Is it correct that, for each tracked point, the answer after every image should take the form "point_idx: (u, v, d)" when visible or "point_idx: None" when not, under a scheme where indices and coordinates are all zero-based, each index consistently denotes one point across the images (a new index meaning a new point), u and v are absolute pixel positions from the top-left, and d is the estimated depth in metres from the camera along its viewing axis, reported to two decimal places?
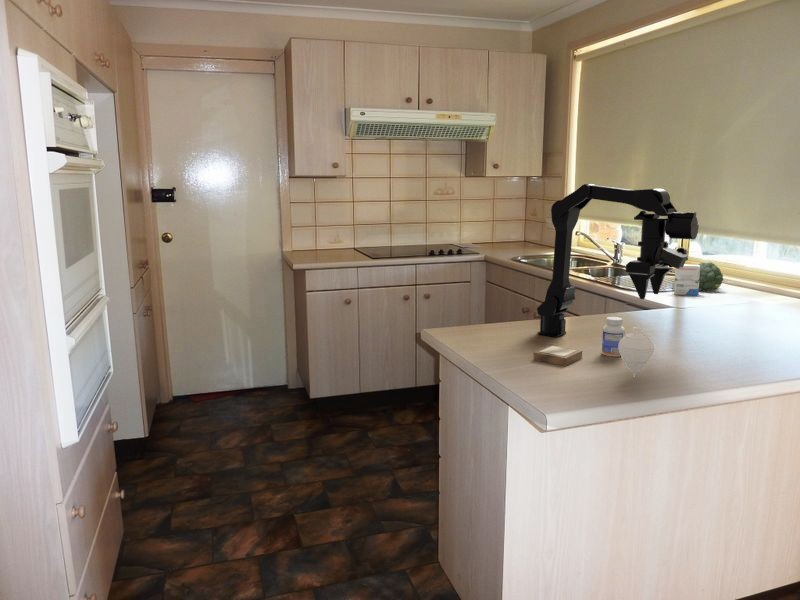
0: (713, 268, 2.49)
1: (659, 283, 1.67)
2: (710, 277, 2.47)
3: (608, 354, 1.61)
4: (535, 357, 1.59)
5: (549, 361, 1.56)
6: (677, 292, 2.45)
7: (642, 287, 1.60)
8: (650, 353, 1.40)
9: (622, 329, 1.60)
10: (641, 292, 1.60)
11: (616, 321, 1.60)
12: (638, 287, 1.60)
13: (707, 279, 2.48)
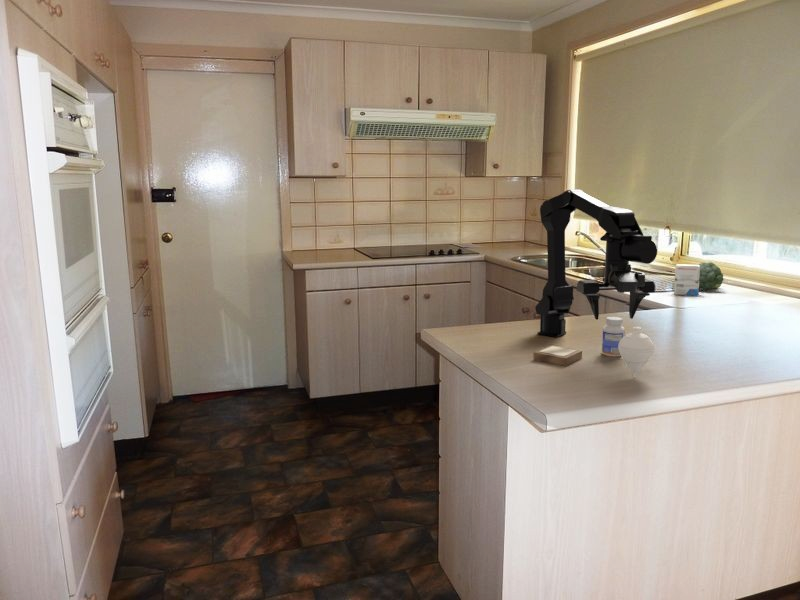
0: (713, 268, 2.49)
1: (633, 307, 1.61)
2: (710, 277, 2.47)
3: (608, 354, 1.61)
4: (535, 357, 1.59)
5: (549, 361, 1.56)
6: (677, 292, 2.45)
7: (593, 307, 1.61)
8: (650, 353, 1.40)
9: (622, 329, 1.60)
10: (594, 312, 1.61)
11: (616, 321, 1.60)
12: (592, 307, 1.62)
13: (707, 279, 2.48)
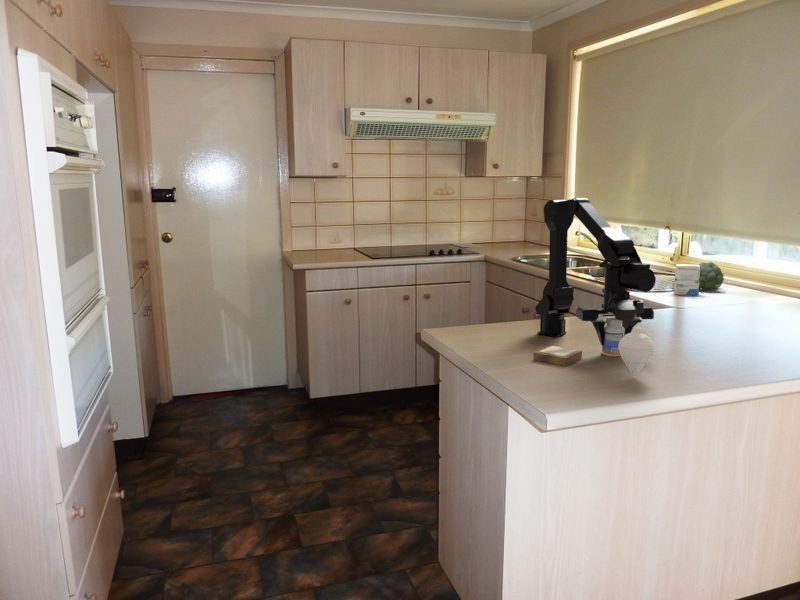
0: (714, 268, 2.49)
1: (625, 334, 1.62)
2: (711, 277, 2.47)
3: (608, 354, 1.61)
4: (535, 357, 1.59)
5: (549, 361, 1.56)
6: (677, 292, 2.45)
7: (599, 333, 1.62)
8: (650, 353, 1.40)
9: (622, 329, 1.60)
10: (599, 338, 1.62)
11: (616, 321, 1.60)
12: (597, 333, 1.63)
13: (708, 279, 2.48)
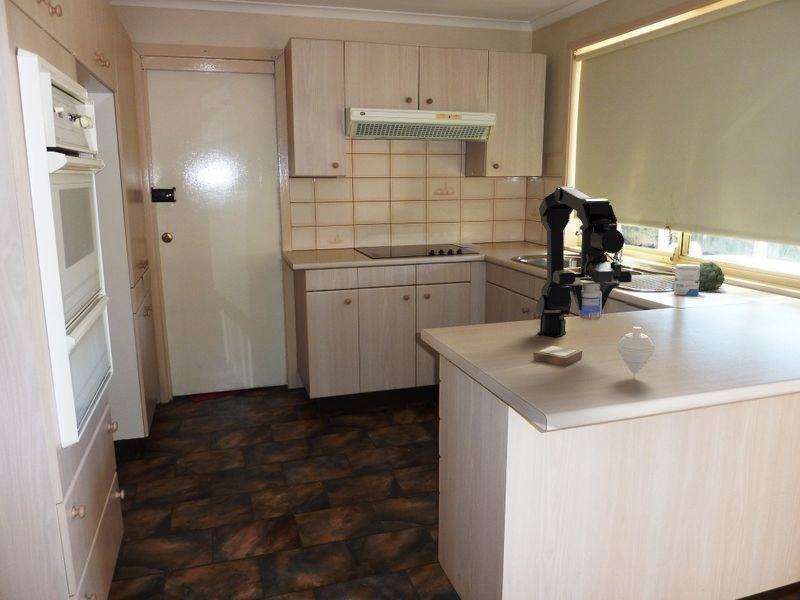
0: (714, 268, 2.49)
1: (603, 298, 1.58)
2: (711, 277, 2.47)
3: (586, 319, 1.58)
4: (535, 357, 1.59)
5: (549, 361, 1.56)
6: (677, 292, 2.45)
7: (576, 298, 1.58)
8: (650, 353, 1.40)
9: (599, 293, 1.57)
10: (577, 303, 1.59)
11: (593, 285, 1.56)
12: (574, 297, 1.59)
13: (708, 279, 2.48)
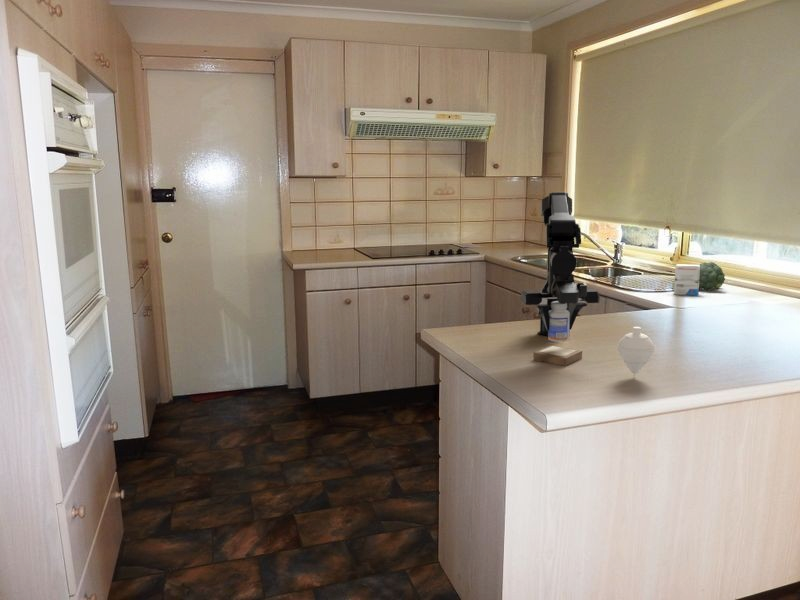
0: (715, 268, 2.49)
1: (571, 318, 1.57)
2: (712, 277, 2.48)
3: (553, 339, 1.57)
4: (535, 357, 1.59)
5: (549, 361, 1.56)
6: (677, 292, 2.45)
7: (543, 317, 1.57)
8: (650, 353, 1.40)
9: (567, 313, 1.56)
10: (544, 323, 1.58)
11: (560, 305, 1.55)
12: (542, 317, 1.58)
13: (709, 279, 2.48)
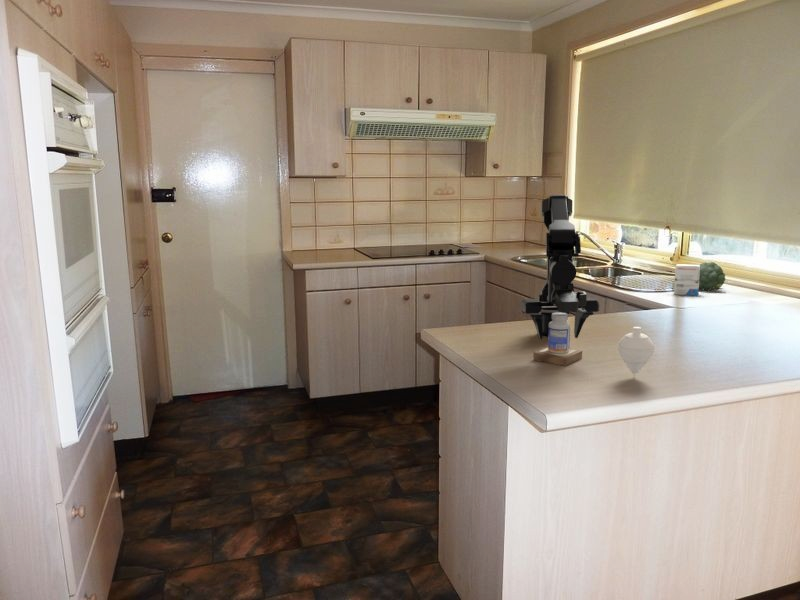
0: (715, 268, 2.49)
1: (577, 327, 1.58)
2: (712, 277, 2.48)
3: (553, 351, 1.57)
4: (535, 357, 1.59)
5: (549, 361, 1.56)
6: (677, 292, 2.45)
7: (536, 326, 1.58)
8: (650, 353, 1.40)
9: (567, 325, 1.56)
10: (538, 331, 1.58)
11: (561, 317, 1.56)
12: (535, 326, 1.59)
13: (709, 279, 2.49)
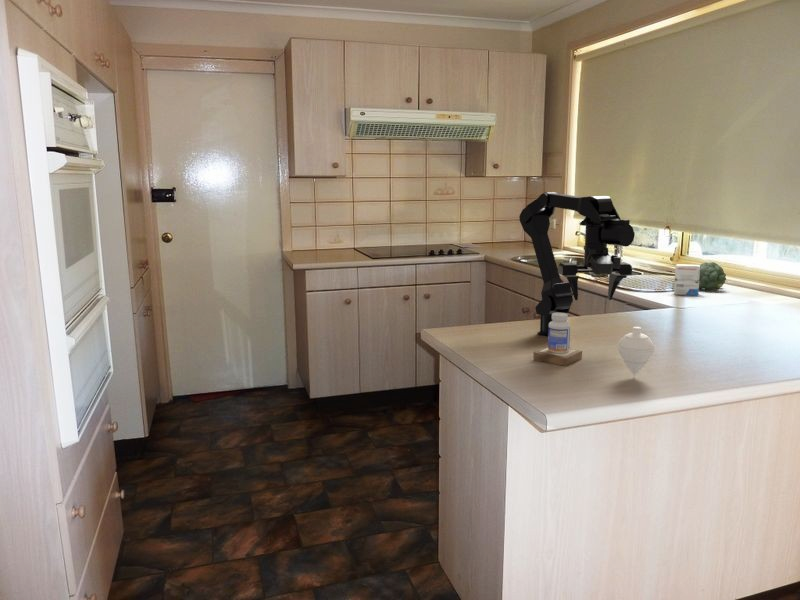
0: (716, 268, 2.49)
1: (611, 289, 1.69)
2: (713, 277, 2.48)
3: (553, 351, 1.57)
4: (535, 357, 1.59)
5: (549, 361, 1.56)
6: (677, 292, 2.45)
7: (572, 288, 1.69)
8: (650, 353, 1.40)
9: (567, 325, 1.56)
10: (573, 293, 1.70)
11: (561, 317, 1.56)
12: (572, 288, 1.70)
13: (710, 279, 2.49)
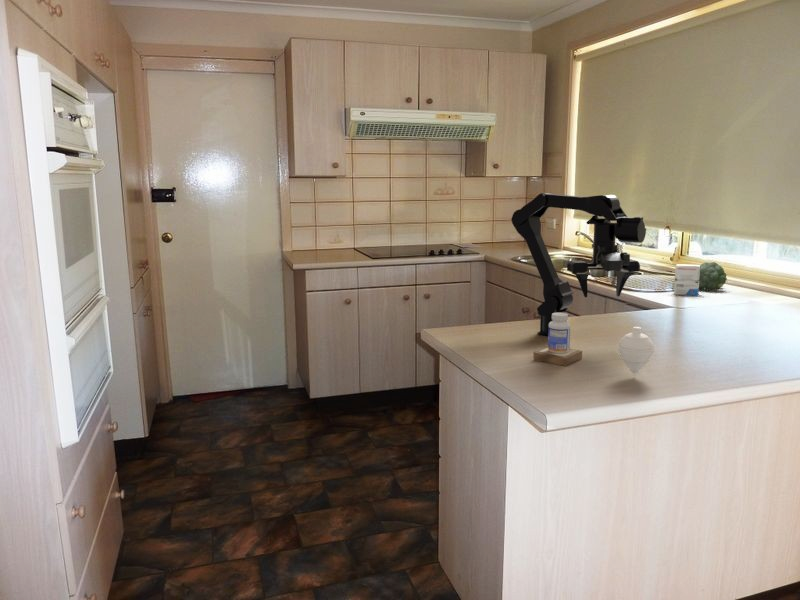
0: (717, 268, 2.49)
1: (619, 286, 1.73)
2: (714, 277, 2.48)
3: (553, 351, 1.57)
4: (535, 357, 1.59)
5: (549, 361, 1.56)
6: (677, 292, 2.45)
7: (582, 286, 1.72)
8: (650, 353, 1.40)
9: (567, 325, 1.56)
10: (583, 290, 1.73)
11: (561, 317, 1.56)
12: (581, 285, 1.73)
13: (711, 279, 2.49)
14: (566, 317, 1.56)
